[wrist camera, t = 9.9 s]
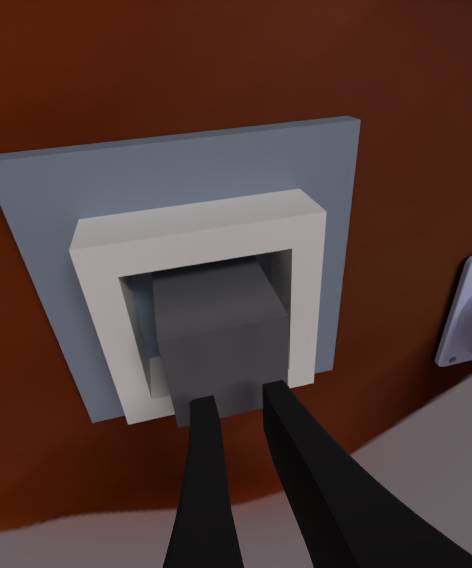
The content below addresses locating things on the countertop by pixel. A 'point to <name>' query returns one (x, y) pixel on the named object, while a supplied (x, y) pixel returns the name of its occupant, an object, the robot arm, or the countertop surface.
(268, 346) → the plug
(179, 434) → the countertop surface
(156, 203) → the socket plate
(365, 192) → the countertop surface
